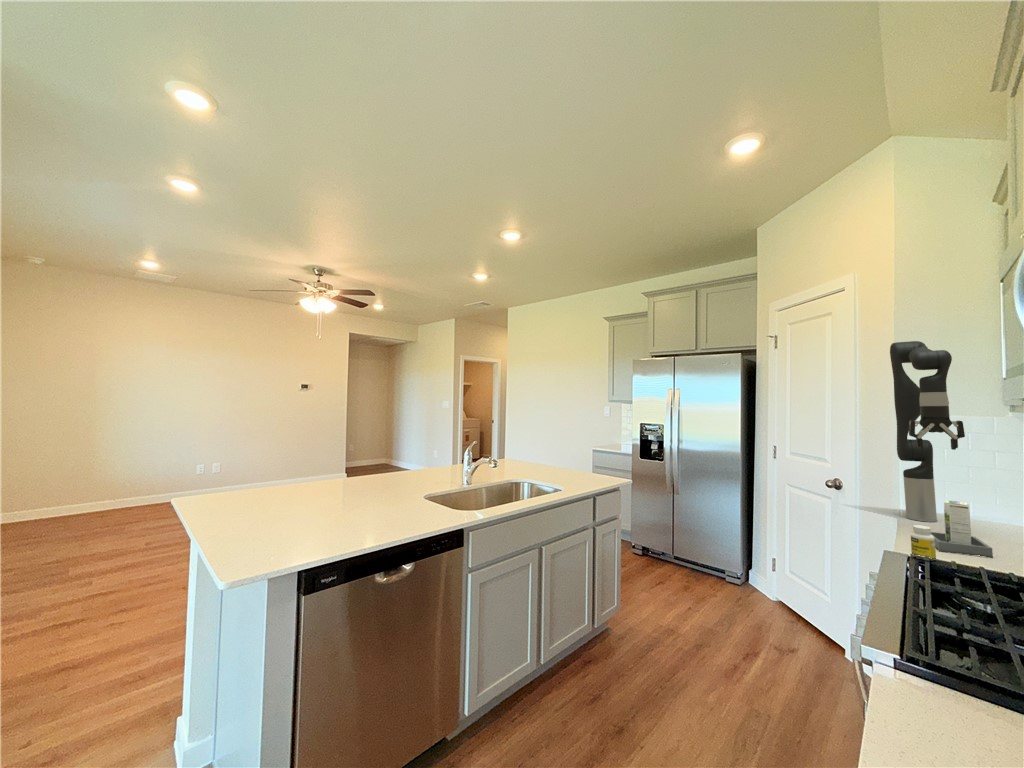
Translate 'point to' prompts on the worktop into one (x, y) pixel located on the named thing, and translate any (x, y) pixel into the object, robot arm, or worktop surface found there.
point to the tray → (962, 546)
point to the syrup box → (957, 522)
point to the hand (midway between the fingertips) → (936, 449)
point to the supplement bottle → (923, 542)
